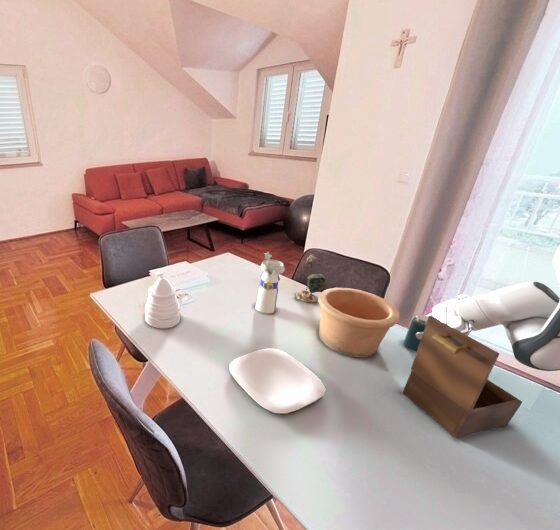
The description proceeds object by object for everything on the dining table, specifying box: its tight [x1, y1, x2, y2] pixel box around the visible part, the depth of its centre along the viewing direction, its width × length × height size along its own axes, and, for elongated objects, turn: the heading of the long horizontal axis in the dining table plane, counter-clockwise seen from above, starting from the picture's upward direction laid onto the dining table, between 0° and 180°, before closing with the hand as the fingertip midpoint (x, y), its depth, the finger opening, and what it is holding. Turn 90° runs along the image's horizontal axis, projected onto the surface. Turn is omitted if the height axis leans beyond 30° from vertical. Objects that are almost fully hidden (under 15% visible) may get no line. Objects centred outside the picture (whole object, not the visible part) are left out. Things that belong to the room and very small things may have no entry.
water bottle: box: [254, 251, 286, 315], centre depth 117 cm, size 8×9×25 cm
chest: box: [401, 370, 523, 439], centre depth 78 cm, size 16×14×8 cm
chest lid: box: [410, 316, 500, 413], centre depth 71 cm, size 16×14×4 cm
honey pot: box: [144, 270, 181, 329], centre depth 112 cm, size 13×13×18 cm
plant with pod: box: [294, 254, 326, 303], centre depth 125 cm, size 8×11×20 cm
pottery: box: [317, 287, 400, 358], centre depth 101 cm, size 22×22×14 cm
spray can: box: [402, 314, 429, 352], centre depth 99 cm, size 5×5×11 cm
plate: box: [228, 347, 327, 415], centre depth 87 cm, size 22×22×2 cm
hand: (417, 329), depth 99 cm, fingers open, 8 cm apart
